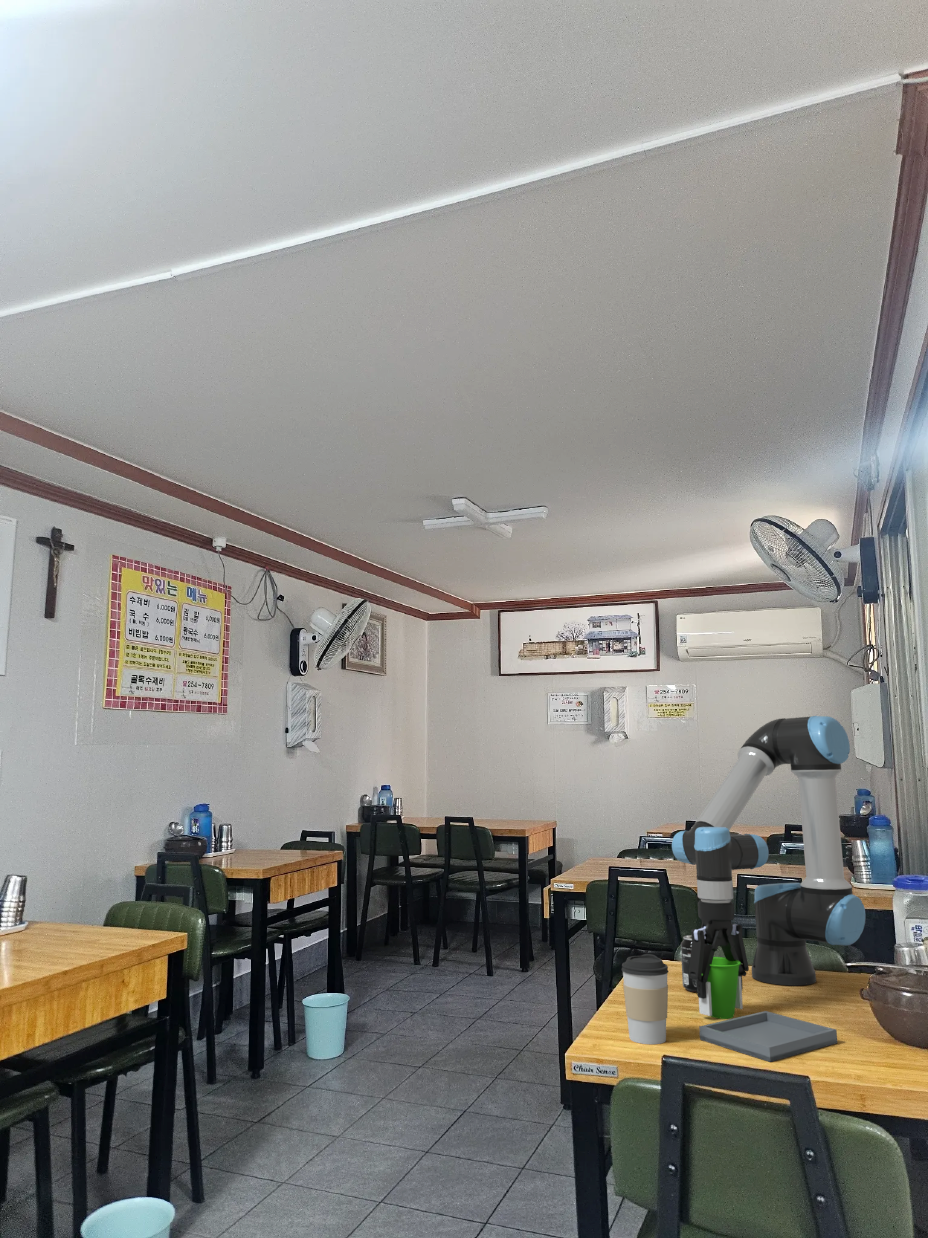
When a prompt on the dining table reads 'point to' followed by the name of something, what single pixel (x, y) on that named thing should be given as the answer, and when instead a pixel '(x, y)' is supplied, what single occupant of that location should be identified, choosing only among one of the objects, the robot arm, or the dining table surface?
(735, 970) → the cup
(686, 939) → the beverage can
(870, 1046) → the dining table surface
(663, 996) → the coffee cup
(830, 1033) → the tray
